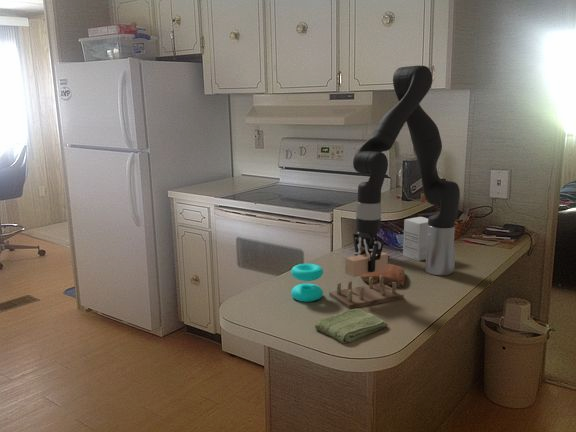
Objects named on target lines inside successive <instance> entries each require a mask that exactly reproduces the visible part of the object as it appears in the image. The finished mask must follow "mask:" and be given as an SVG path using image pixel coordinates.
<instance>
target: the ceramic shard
mask: <svg viewBox="0 0 576 432" xmlns="http://www.w3.org/2000/svg"><path fill="white" fill-rule="evenodd" d="M381 275H382V276H384V277H383V284H385V285H387V286H389V287H392V282H396V288H403V287H404V285H405V284H404V283H405V270H404V268H403V267H401V266H399V265H397V264H389V263H388V264H387V269H385V270H381V271H377V272H373V273H368V274H364V275H360V276H359V277H360V279H361V280H362V281H364V283H368V285H369V278H370V277H373V284H379V283H380V276H381Z"/></svg>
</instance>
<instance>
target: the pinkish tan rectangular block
mask: <svg viewBox="0 0 576 432" xmlns="http://www.w3.org/2000/svg"><path fill="white" fill-rule="evenodd" d="M376 256H377V254H376ZM371 257H372V253H371ZM388 257H389V253H387V252H383V251H382V253H381V257H380V260H376V261H375V271H374V272H377V271H381V270H385V269H387V264H389V261H388V260H389V258H388ZM344 269H345V271H344V273H345V275H348V276H350V277H353V278H356V277H361V276H360V275H364V274H368V273H373V272H368V255H367V254H362V255H358V254H357V255H354V256H349V257H345V267H344Z"/></svg>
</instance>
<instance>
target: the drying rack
mask: <svg viewBox="0 0 576 432" xmlns="http://www.w3.org/2000/svg"><path fill="white" fill-rule="evenodd" d="M383 277H384V276H382V275H381V276H380V283H379V284H373V277H370V278H369V284H368V285H364V286H357V287H353V285H352V284H353V281H352V280H348V281H347V289H346V288H344V289H342V283H341V282H337V283H336V290H333V291H329V297H331V298H332V299H333V300H335V301H336V302H338V303H340V305H342V306H344V307H345V308H347V310H351V309H357V308H360V307H365V306H371V305H376V304H382V303H386V302H390V301H391V302H392V301H396V300H397V301H398V300H402V299H404V296H405V295H404V294H403V293H402V292H400V291H398V290H397V287H396V282H392V286H388V285H385V284H383Z"/></svg>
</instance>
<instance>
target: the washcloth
mask: <svg viewBox="0 0 576 432" xmlns="http://www.w3.org/2000/svg"><path fill="white" fill-rule="evenodd" d="M388 326H389V323H387V321H384V320H383V319H381V318H379V317H377V316H375V315H374V314H372V313H371V312H366V311H364V310H363V309H362V308H351V309H347V310H345V311H342V312H338V313H337V314H335V315H331V316H327V317H326V318H322V319H320V320H319V321H317V322H316V323H315V324H314V328H315V330H316V331H318V332H321V333H323V334H324V335H326V336H330V337H332V338H333V339H335V340H337V341H339V342H340V343H342V344H349V343H351V342H354V341H358V340H360V339H362V338H364V337H366V336H369V335H370V334H373V333H375V332H377V331H379V330H383V329H384V328H387V327H388Z"/></svg>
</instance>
